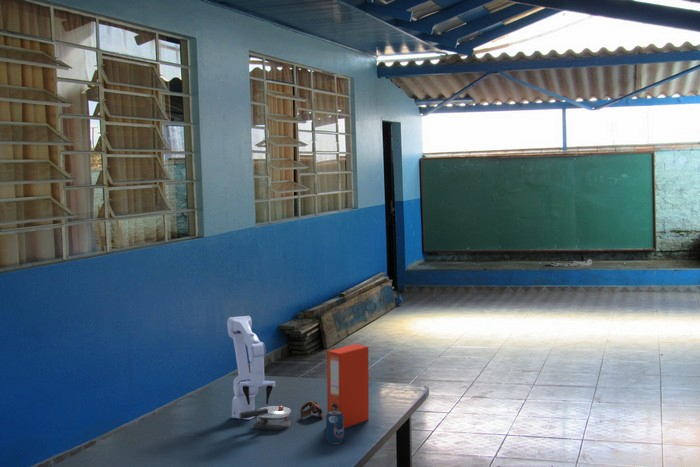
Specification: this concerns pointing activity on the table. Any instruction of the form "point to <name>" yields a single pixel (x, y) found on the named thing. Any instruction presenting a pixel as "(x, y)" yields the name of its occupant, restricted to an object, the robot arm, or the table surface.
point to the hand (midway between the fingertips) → (258, 403)
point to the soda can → (335, 427)
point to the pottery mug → (311, 409)
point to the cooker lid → (268, 412)
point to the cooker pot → (272, 423)
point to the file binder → (348, 383)
